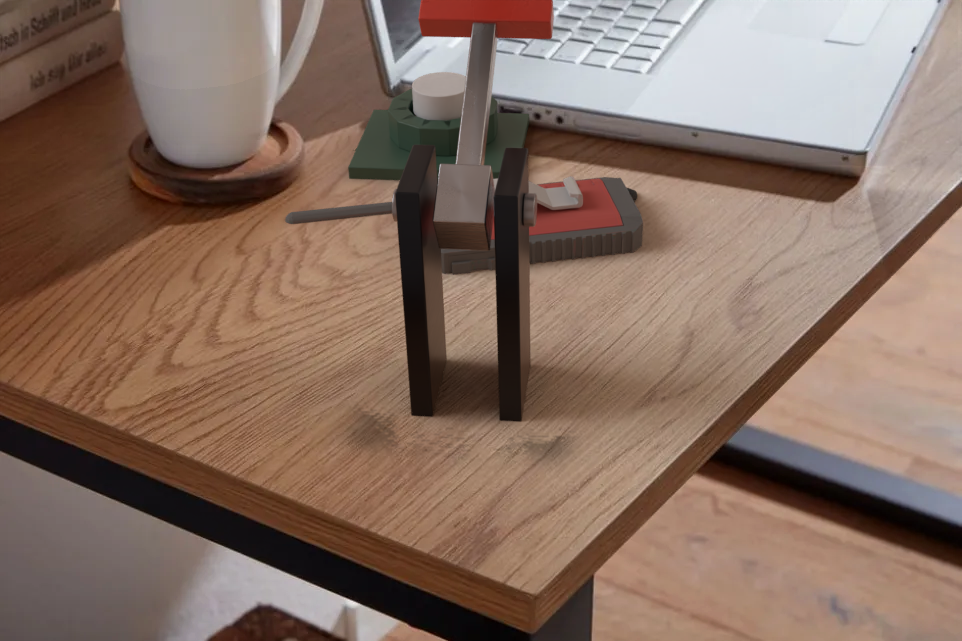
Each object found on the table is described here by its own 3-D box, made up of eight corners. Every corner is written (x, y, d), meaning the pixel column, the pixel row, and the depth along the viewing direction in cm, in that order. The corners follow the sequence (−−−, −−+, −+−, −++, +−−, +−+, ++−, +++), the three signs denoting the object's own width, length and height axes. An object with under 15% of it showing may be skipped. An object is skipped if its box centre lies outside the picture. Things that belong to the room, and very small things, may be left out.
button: (475, 98, 83) (475, 72, 82) (468, 124, 80) (467, 97, 79) (418, 97, 83) (417, 71, 82) (408, 122, 80) (407, 95, 79)
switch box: (530, 143, 86) (529, 85, 83) (516, 205, 79) (516, 144, 77) (376, 138, 87) (372, 81, 85) (350, 199, 80) (345, 139, 78)
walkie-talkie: (624, 196, 79) (286, 232, 77) (627, 129, 77) (278, 164, 75) (665, 273, 72) (294, 315, 70) (670, 201, 70) (285, 242, 67)
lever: (426, 22, 62) (419, -13, 60) (554, 24, 62) (552, -11, 60) (394, 247, 57) (386, 219, 55) (534, 253, 56) (531, 224, 54)
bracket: (403, 359, 66) (386, 124, 59) (564, 367, 65) (566, 129, 58) (372, 463, 60) (348, 213, 53) (551, 474, 59) (552, 220, 52)
